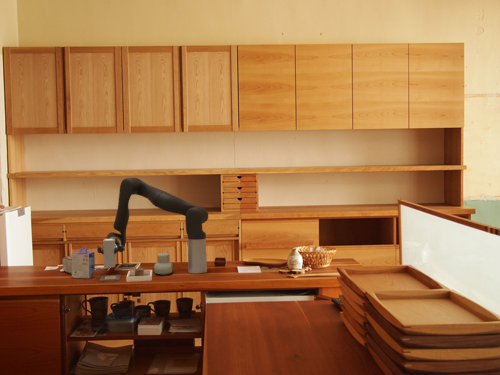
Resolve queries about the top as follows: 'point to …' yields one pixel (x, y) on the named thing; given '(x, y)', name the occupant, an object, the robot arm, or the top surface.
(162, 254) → the air freshener
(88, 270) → the ink cartridge box
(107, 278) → the pad
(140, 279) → the bin rim
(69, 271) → the tin
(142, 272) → the walnut block
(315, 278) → the top surface
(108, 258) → the label box
